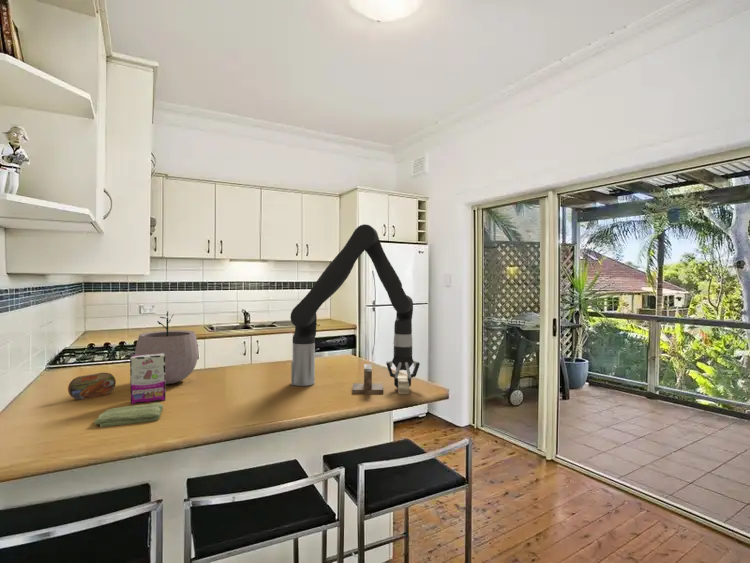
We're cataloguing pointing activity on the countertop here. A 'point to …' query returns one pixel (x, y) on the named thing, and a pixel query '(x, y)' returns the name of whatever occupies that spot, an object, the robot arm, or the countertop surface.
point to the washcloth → (130, 415)
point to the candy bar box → (147, 378)
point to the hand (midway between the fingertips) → (402, 387)
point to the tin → (91, 386)
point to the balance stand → (367, 383)
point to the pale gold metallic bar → (403, 384)
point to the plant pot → (171, 351)
